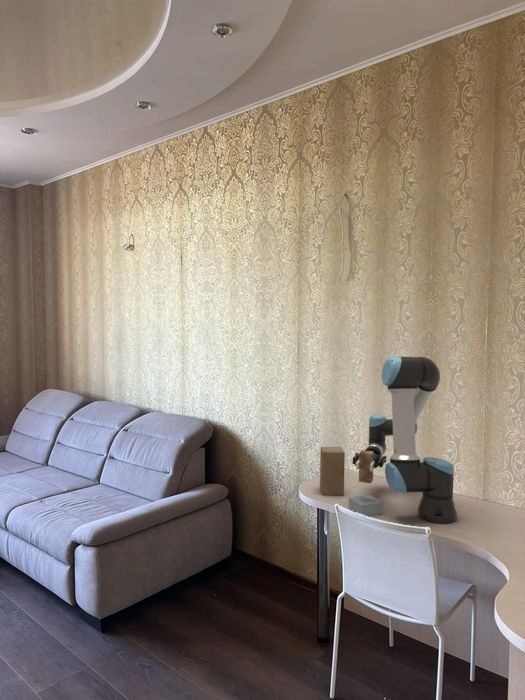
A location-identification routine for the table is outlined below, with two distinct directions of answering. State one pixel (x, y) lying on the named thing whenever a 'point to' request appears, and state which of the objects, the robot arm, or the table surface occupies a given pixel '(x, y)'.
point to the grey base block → (365, 505)
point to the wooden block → (332, 470)
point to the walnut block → (365, 466)
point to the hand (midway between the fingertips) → (364, 467)
